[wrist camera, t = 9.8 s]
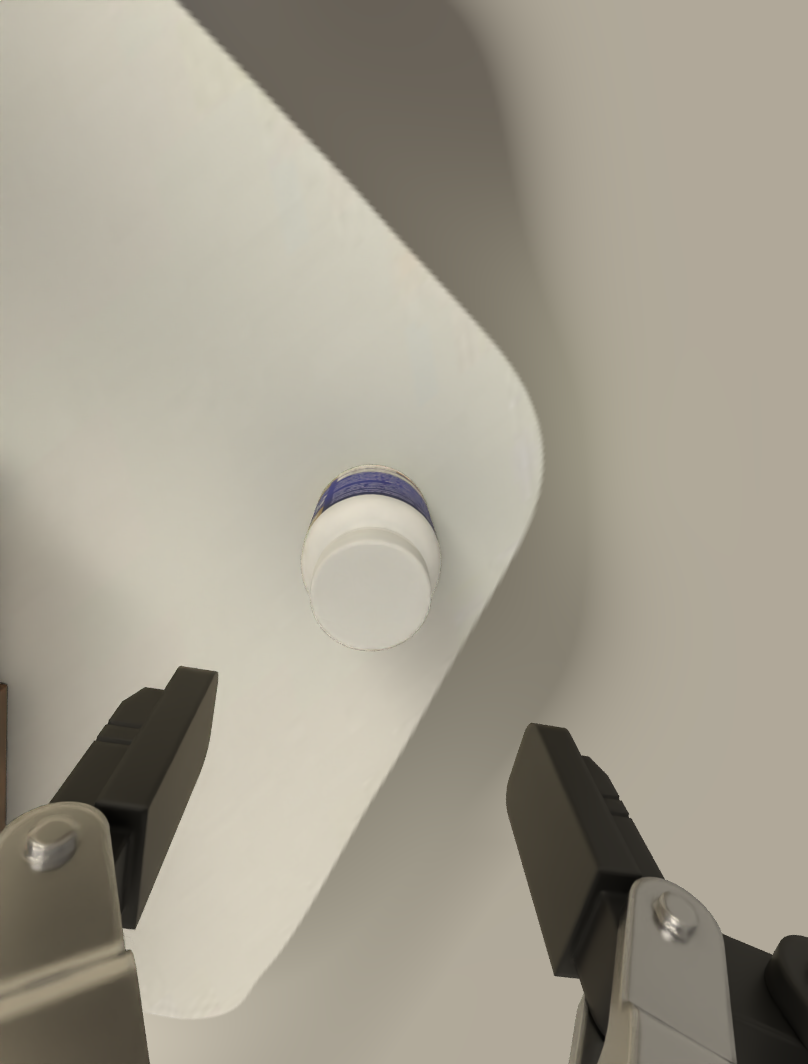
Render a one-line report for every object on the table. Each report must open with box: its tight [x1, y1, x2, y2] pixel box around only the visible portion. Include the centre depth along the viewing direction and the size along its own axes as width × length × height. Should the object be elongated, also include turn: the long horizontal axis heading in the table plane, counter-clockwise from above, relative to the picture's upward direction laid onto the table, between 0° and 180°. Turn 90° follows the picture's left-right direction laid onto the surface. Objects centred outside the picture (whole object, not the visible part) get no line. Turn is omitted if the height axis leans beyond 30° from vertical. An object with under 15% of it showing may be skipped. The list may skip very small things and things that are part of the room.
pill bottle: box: [301, 465, 441, 651], centre depth 22 cm, size 5×5×9 cm
